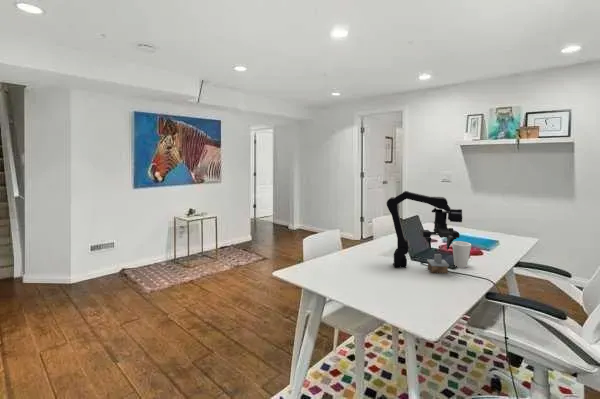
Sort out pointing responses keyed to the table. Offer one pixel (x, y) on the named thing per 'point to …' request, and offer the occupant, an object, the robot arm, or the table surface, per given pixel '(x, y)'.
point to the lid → (438, 261)
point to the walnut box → (438, 269)
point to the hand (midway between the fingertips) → (438, 249)
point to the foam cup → (461, 253)
